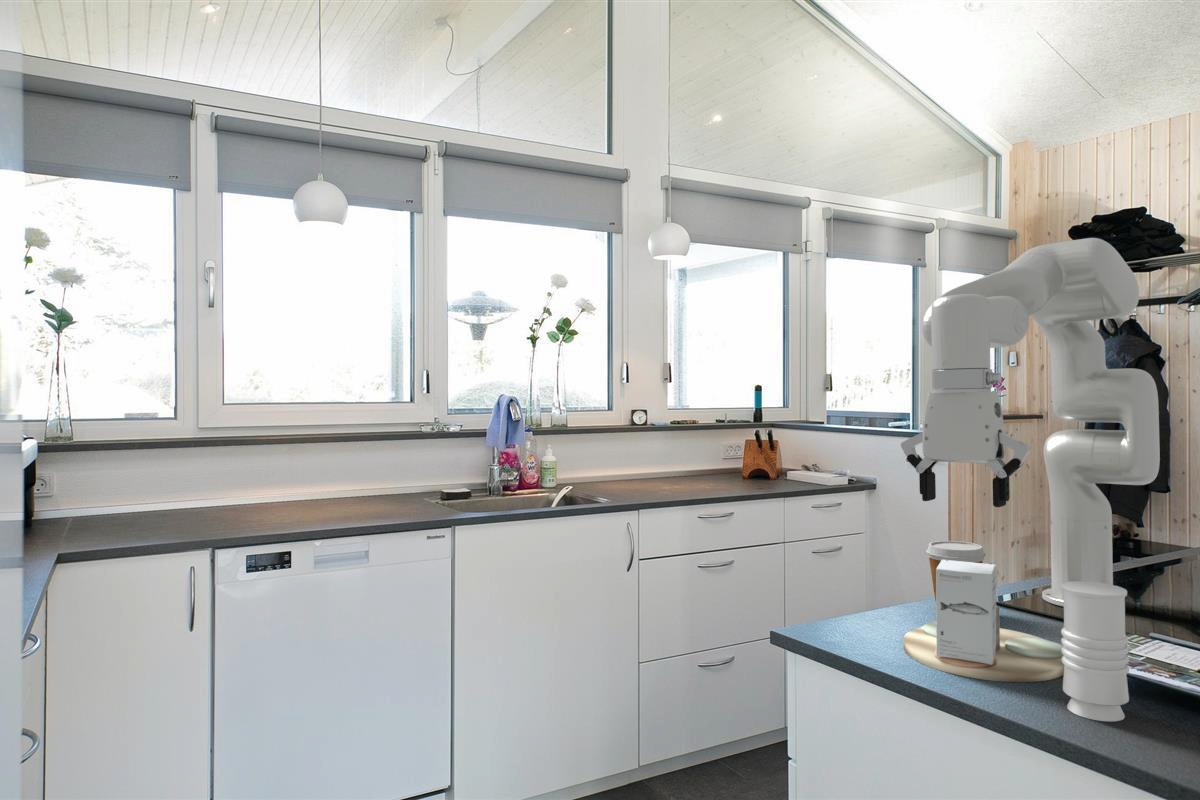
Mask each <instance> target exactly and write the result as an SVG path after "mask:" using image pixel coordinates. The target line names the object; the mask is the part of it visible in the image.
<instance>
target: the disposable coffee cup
mask: <svg viewBox="0 0 1200 800" xmlns="http://www.w3.org/2000/svg"><path fill="white" fill-rule="evenodd" d="M925 552H926V554H927V557H928V559H929V566H930V574H931V578H932V579H931V580H932V581H931V582H932V587H933V592H934V593H933V594H934V599H935V602H936V569H937V567H938V565H939V564H940V562H941V560H953V561H963V562H973V563H983V561H984V560H985V558H986V556H987V555H986V553H985V551H984V547H983V546H982V545H980V544H977V543H974V542H969V541H960V540H937V541H931V542H929V543H928V546H927V549H926V550H925Z"/></svg>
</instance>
